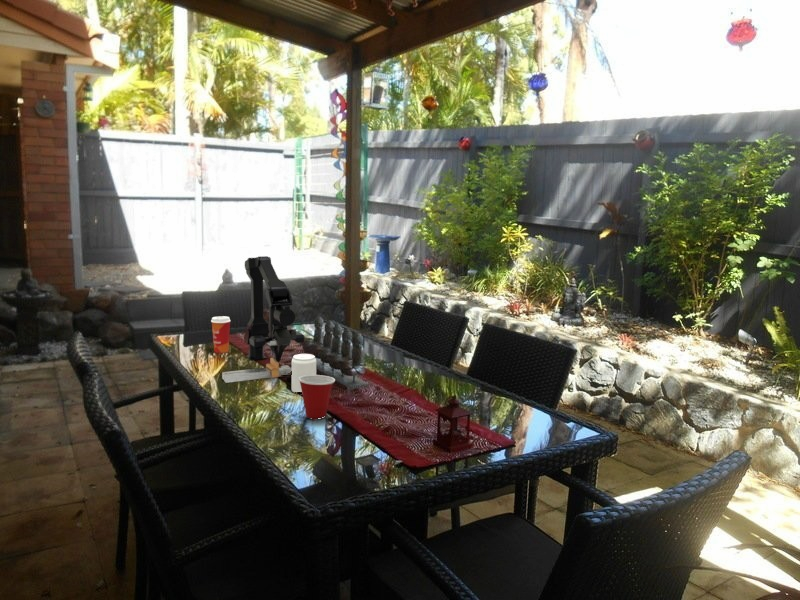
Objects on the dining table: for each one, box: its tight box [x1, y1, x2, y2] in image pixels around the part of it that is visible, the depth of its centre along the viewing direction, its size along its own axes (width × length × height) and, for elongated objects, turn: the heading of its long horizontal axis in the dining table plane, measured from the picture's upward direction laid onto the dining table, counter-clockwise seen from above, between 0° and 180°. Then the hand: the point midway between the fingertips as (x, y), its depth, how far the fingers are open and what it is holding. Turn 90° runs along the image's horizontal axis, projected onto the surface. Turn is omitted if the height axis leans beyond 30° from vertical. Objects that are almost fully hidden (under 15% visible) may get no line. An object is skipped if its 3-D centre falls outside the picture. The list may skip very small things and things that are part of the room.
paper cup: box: [210, 315, 232, 354], centre depth 264 cm, size 8×8×14 cm
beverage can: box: [291, 353, 317, 393], centre depth 217 cm, size 8×8×12 cm
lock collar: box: [265, 357, 280, 379], centre depth 234 cm, size 7×2×5 cm, turn 29°
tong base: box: [223, 364, 292, 384], centre depth 232 cm, size 5×24×2 cm, turn 119°
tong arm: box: [221, 367, 269, 381], centre depth 232 cm, size 20×2×2 cm, turn 118°
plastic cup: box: [299, 374, 336, 420], centre depth 194 cm, size 11×11×12 cm
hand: (277, 362), depth 235 cm, fingers closed
